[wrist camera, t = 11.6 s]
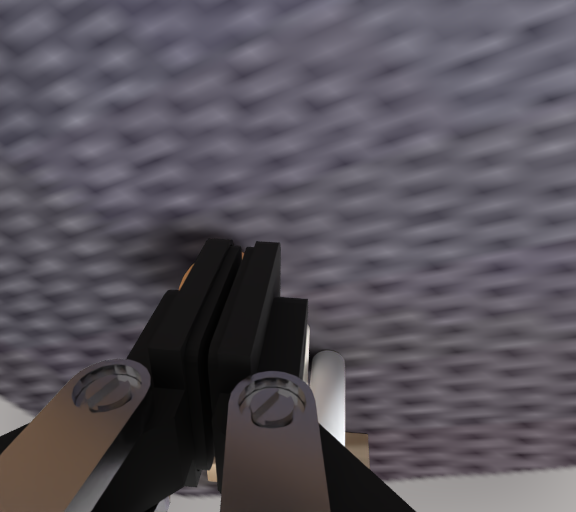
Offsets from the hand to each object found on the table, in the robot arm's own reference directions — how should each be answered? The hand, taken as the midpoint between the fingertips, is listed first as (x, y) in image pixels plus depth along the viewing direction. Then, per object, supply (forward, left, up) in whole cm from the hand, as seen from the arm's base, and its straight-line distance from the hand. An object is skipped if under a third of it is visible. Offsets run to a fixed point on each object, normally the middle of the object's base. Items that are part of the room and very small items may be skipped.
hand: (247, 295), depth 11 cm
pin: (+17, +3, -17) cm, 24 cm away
